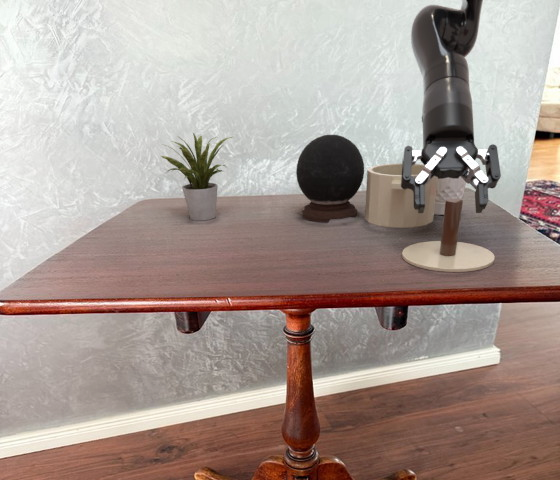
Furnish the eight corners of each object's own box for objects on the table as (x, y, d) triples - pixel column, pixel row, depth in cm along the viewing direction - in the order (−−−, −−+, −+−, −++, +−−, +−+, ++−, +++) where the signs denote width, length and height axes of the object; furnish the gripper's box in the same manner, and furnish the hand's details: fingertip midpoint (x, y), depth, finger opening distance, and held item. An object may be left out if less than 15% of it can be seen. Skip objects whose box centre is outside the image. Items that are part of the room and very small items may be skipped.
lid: (490, 249, 87) (500, 191, 83) (496, 278, 76) (508, 213, 71) (404, 245, 91) (409, 189, 86) (398, 273, 79) (403, 210, 75)
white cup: (448, 218, 104) (455, 163, 99) (414, 211, 110) (419, 159, 105) (470, 210, 109) (478, 157, 104) (436, 204, 114) (442, 154, 109)
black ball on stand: (284, 215, 111) (281, 135, 103) (332, 204, 118) (333, 129, 110) (326, 227, 102) (327, 141, 94) (376, 215, 108) (380, 133, 101)
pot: (433, 211, 110) (439, 161, 105) (431, 236, 95) (437, 179, 90) (371, 209, 113) (373, 160, 108) (359, 233, 98) (361, 178, 93)
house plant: (222, 204, 121) (215, 124, 113) (253, 216, 111) (248, 129, 102) (162, 215, 114) (150, 130, 106) (190, 228, 104) (179, 136, 96)
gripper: (404, 101, 82) (405, 196, 78) (501, 99, 80) (508, 195, 76) (398, 135, 89) (399, 223, 85) (487, 133, 88) (492, 223, 84)
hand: (450, 210), depth 81 cm, fingers open, 8 cm apart
